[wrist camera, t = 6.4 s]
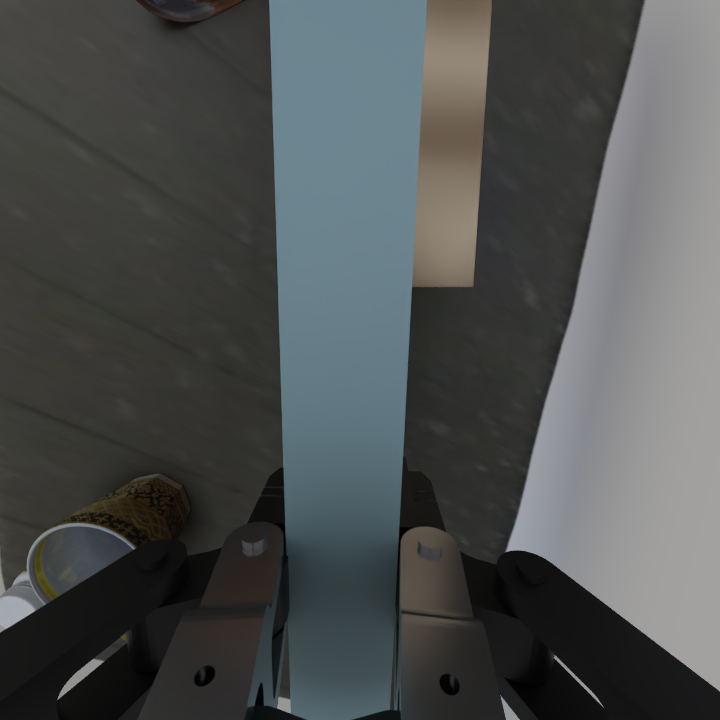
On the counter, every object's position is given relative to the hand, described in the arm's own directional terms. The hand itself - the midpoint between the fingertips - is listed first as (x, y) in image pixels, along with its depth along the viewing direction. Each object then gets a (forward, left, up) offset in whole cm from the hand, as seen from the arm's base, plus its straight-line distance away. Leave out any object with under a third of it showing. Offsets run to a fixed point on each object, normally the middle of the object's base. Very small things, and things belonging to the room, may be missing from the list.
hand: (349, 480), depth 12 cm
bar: (0, 0, -2) cm, 2 cm away
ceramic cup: (+18, -21, -23) cm, 36 cm away
